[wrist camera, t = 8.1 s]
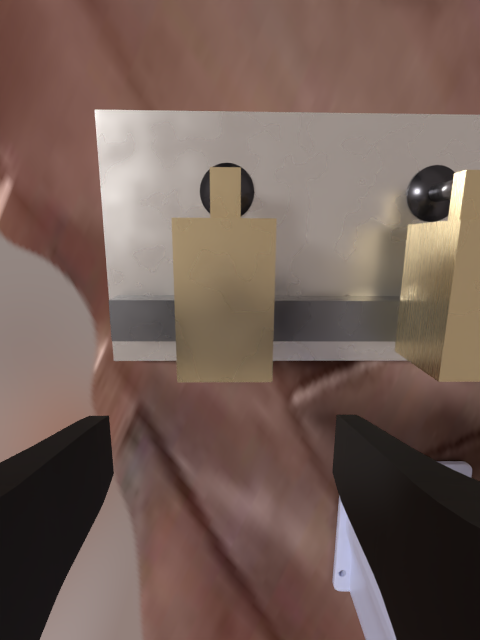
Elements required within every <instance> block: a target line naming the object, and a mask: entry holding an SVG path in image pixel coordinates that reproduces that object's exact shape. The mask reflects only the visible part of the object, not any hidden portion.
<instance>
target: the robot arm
mask: <svg viewBox="0 0 480 640" xmlns="http://www.w3.org/2000/svg"><path fill="white" fill-rule="evenodd" d="M113 474H114V472H113V459H112V447H111V435H110V423H109V416H88V417H86V418H84V419H81V420H79V421H77V422H75V423H74V424H72V425H70V426H68V427H66V428H64V429H63V430H61V431H59V432H57V433H55V434H54V435H52V436H50V437H48V438H47V439H45V440H43V441H41V442H39V443H38V444H36V445H34V446H32V447H30V448H28V449H26V450H24V451H22V452H20V453H18V454H16V455H15V456H12V457H10V458H9V459H7V460H5V461H3V462H1V463H0V640H40V637H41V634H42V632H43V630H44V627H45V625H46V622H47V620H48V617H49V615H50V612H51V610H52V607H53V605H54V602H55V600H56V597H57V595H58V593H59V591H60V589H61V586H62V584H63V582H64V580H65V578H66V576H67V574H68V572H69V570H70V568H71V566H72V564H73V562H74V560H75V558H76V556H77V554H78V552H79V550H80V548H81V547H82V544H83V542H84V541H85V539H86V537H87V535H88V533H89V531H90V529H91V527H92V525H93V523H94V521H95V519H96V517H97V515H98V513H99V511H100V509H101V507H102V505H103V502H104V500H105V497H106V494H107V492H108V489H109V486H110V483H111V480H112V477H113ZM333 475H334V479H335V482H336V486H337V489H338V493H339V505H338V518H337V531H336V544H335V556H334V569H333V585H334V588H335V589H336V590H337V591H350V593H351V596H352V599H353V602H354V605H355V608H356V611H357V614H358V617H359V620H360V623H361V626H362V629H363V632H364V635H365V638H366V640H480V481H477V480H475V479H473V478H471V476H472V467H471V466H470V465H469V464H468V463H466V462H464V461H435V460H433V459H431V458H430V457H428V456H426V455H424V454H422V453H420V452H418V451H417V450H415V449H413V448H411V447H410V446H408V445H406V444H405V443H403V442H401V441H400V440H398V439H396V438H395V437H393V436H391V435H390V434H388V433H386V432H385V431H383V430H382V429H380V428H378V427H377V426H375V425H373V424H372V423H370V422H368V421H367V420H365V419H363V418H361V417H359V416H357V415H337V417H336V431H335V445H334V459H333ZM341 570H343V571H341Z"/></svg>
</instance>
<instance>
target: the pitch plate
mask: <svg viewBox="0 0 480 640" xmlns="http://www.w3.org/2000/svg"><path fill="white" fill-rule="evenodd" d="M95 120H96V133H97V146H98V159H99V172H100V185H101V198H102V211H103V225H104V238H105V251H106V264H107V277H108V290H109V310H110V324H111V337H112V342H113V355H114V361H177V359H176V331H175V303H174V275H173V246H172V218H210V167H241V218H277V225H276V261H275V297H274V333H273V361H409V362H411V363H412V364H414V365H415V366H417V367H418V368H419V369H421V370H422V371H424V372H425V373H427V374H428V375H430V376H431V377H433V378H434V379H435V380H437V381H438V382H480V115H449V114H375V113H301V112H227V111H153V110H95Z"/></svg>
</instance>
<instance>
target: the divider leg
mask: <svg viewBox="0 0 480 640" xmlns="http://www.w3.org/2000/svg"><path fill="white" fill-rule="evenodd" d="M276 225H277V218H241V167H210V218H172V246H173V275H174V303H175V331H176V359H177V382H272V369H273V333H274V297H275V261H276Z"/></svg>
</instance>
